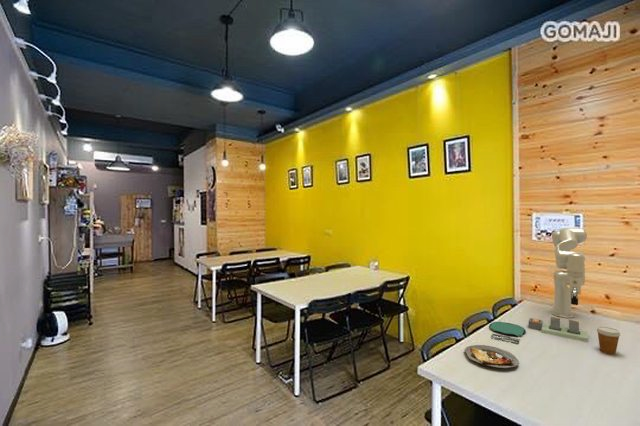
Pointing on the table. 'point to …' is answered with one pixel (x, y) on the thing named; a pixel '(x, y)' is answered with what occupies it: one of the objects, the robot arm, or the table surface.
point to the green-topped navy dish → (507, 330)
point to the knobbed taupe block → (573, 327)
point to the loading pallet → (562, 333)
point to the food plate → (491, 356)
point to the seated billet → (555, 323)
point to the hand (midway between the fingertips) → (574, 302)
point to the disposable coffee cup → (608, 339)
